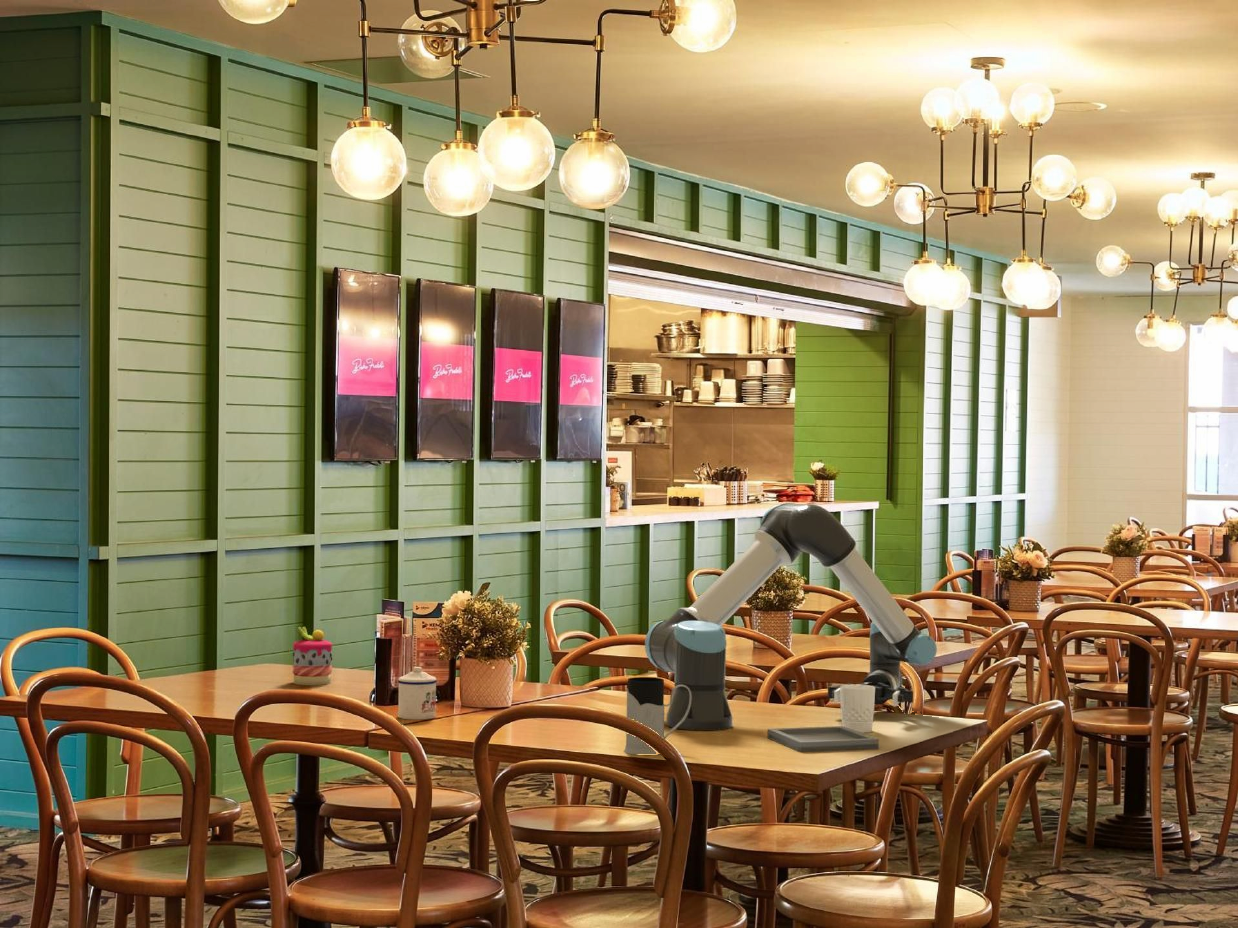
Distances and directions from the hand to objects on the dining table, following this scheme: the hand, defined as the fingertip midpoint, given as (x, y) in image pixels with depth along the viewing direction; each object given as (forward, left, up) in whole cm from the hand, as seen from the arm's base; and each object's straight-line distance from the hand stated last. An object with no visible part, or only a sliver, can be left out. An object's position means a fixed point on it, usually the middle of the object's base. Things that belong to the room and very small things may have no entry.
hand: (864, 698), depth 369 cm
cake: (-117, +97, -6) cm, 152 cm away
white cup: (-6, -8, -6) cm, 11 cm away
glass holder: (-59, -24, -6) cm, 63 cm away
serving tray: (-21, -22, -6) cm, 31 cm away
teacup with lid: (-99, +33, -6) cm, 104 cm away
